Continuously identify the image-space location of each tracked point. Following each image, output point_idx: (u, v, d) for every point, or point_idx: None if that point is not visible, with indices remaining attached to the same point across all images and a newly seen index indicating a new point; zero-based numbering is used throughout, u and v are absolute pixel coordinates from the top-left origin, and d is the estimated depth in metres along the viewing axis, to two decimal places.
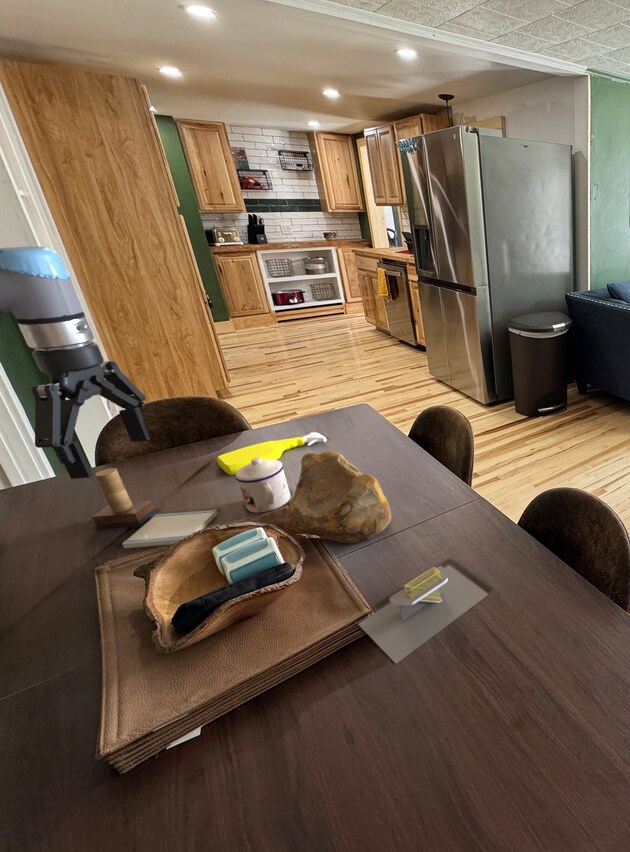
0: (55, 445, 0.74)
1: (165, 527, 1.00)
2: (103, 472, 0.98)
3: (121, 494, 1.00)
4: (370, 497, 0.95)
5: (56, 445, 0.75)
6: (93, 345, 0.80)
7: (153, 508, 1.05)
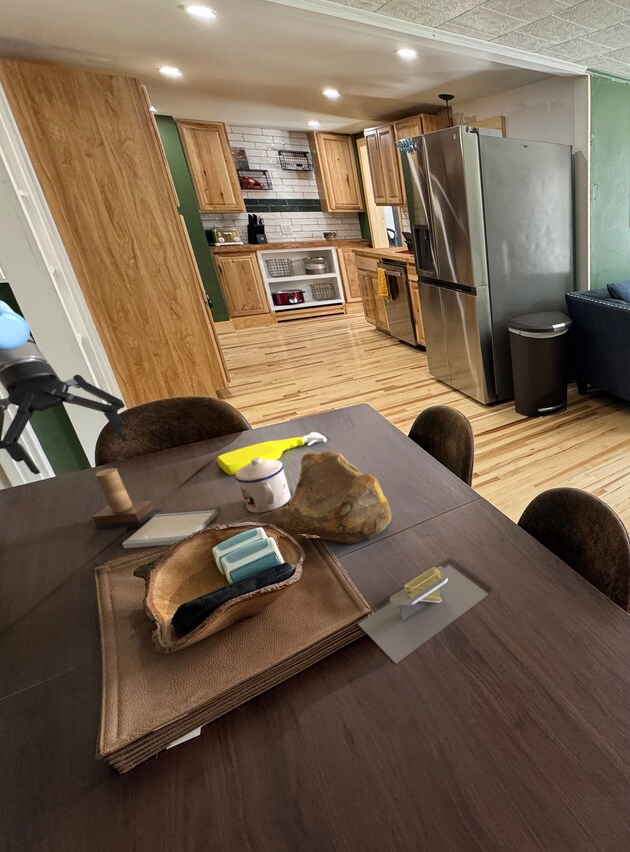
0: (123, 406, 1.05)
1: (165, 527, 1.00)
2: (103, 472, 0.98)
3: (121, 494, 1.00)
4: (370, 497, 0.95)
5: (123, 406, 1.05)
6: None
7: (153, 508, 1.05)
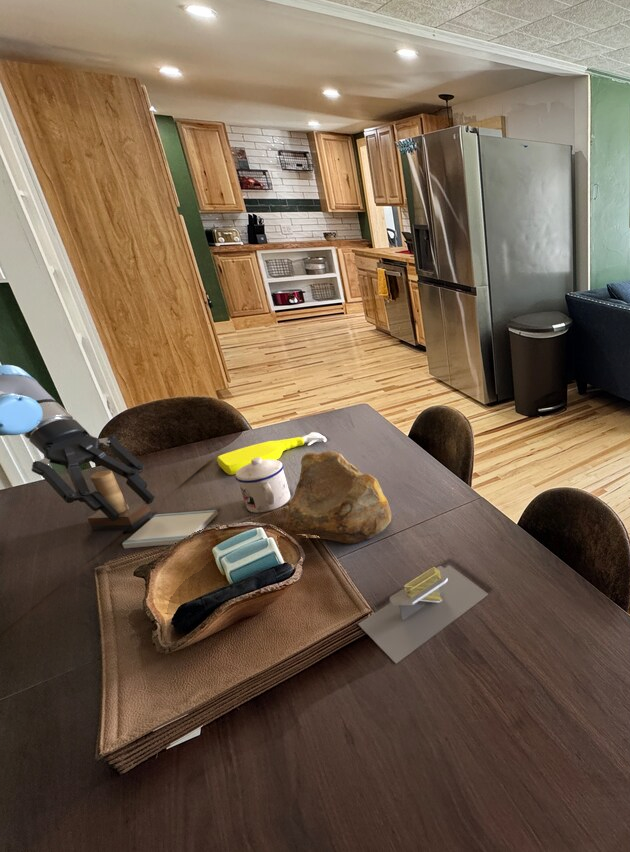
0: (140, 472, 1.06)
1: (165, 527, 1.00)
2: (99, 474, 0.97)
3: (116, 496, 0.99)
4: (370, 497, 0.95)
5: (139, 472, 1.06)
6: None
7: (148, 511, 1.04)
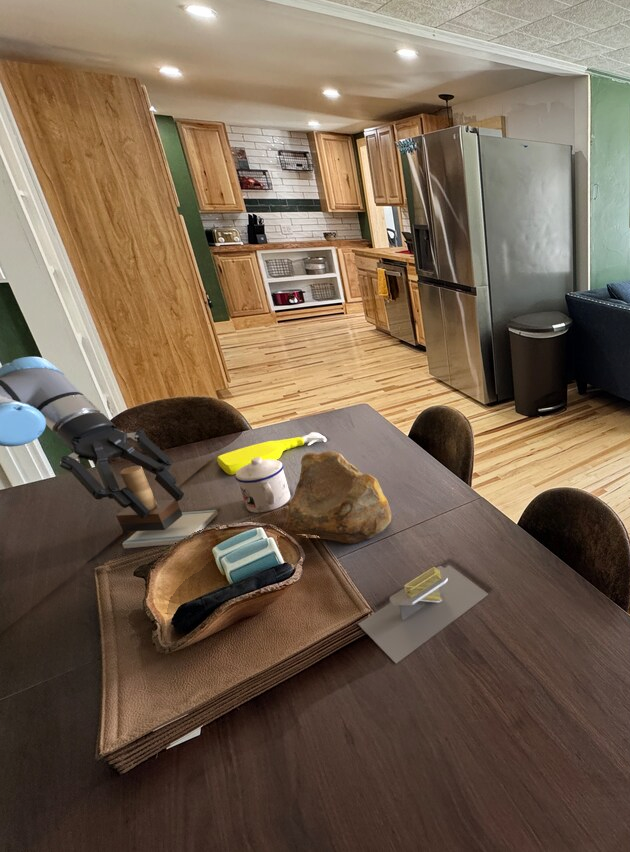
0: (168, 468, 1.02)
1: None
2: (128, 470, 0.94)
3: (145, 493, 0.95)
4: (370, 497, 0.95)
5: (167, 468, 1.02)
6: None
7: (177, 509, 1.00)
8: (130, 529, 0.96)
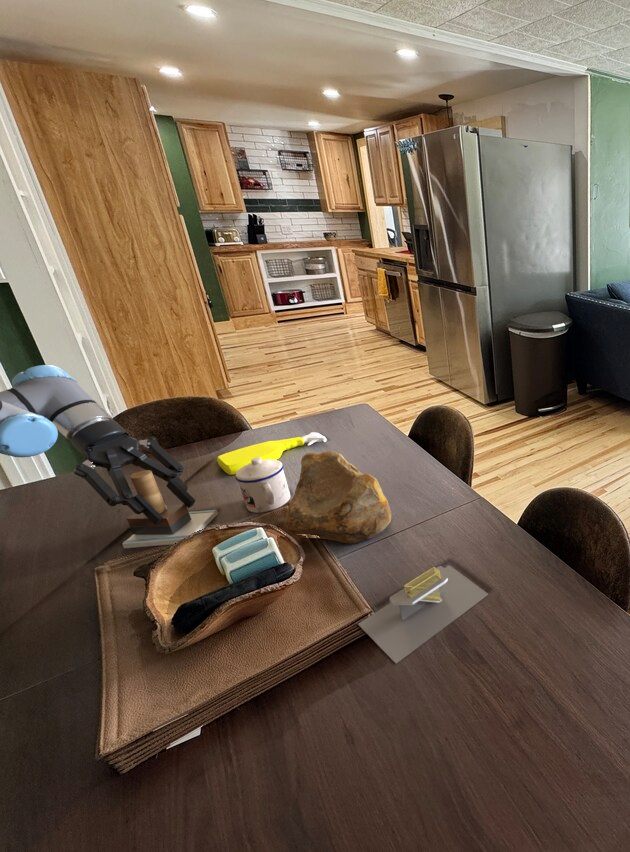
0: (179, 475, 1.03)
1: None
2: (138, 474, 0.95)
3: (155, 497, 0.96)
4: (370, 497, 0.95)
5: None
6: None
7: (186, 513, 1.01)
8: (140, 532, 0.97)
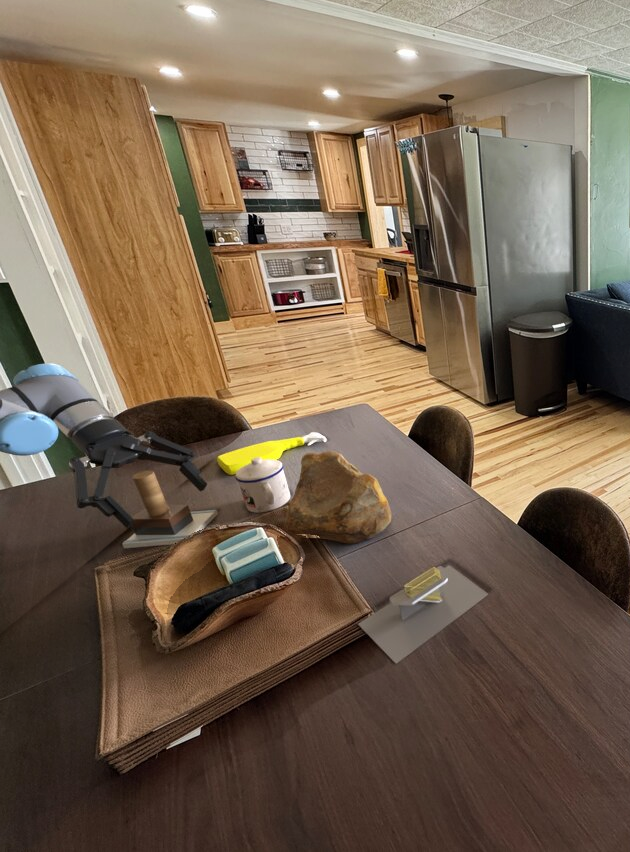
0: None
1: None
2: (141, 474, 0.95)
3: (157, 498, 0.96)
4: (370, 497, 0.95)
5: (191, 459, 1.06)
6: None
7: (188, 513, 1.01)
8: (142, 533, 0.97)
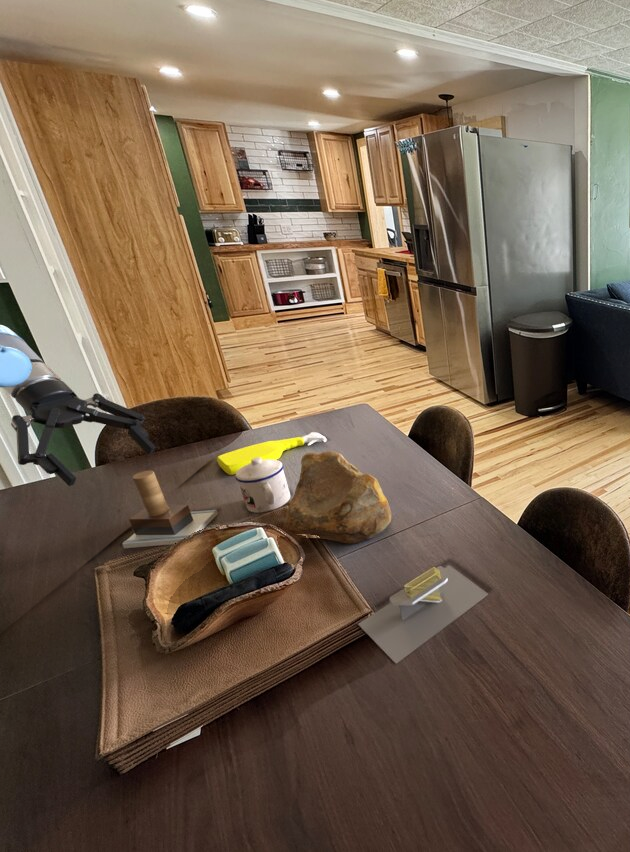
0: None
1: None
2: (141, 474, 0.95)
3: (157, 498, 0.96)
4: (370, 497, 0.95)
5: (141, 423, 1.07)
6: None
7: (188, 513, 1.01)
8: (142, 533, 0.97)
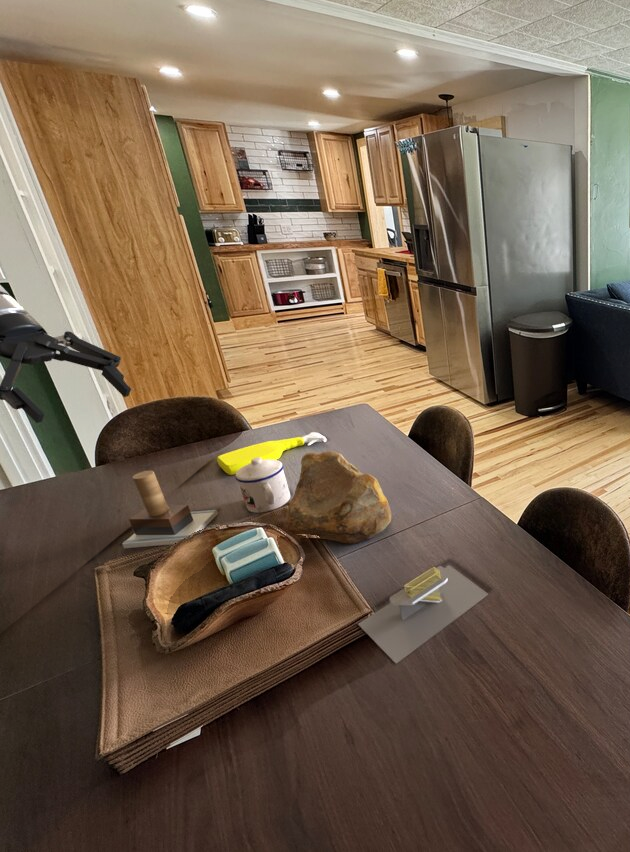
0: (117, 365, 1.02)
1: None
2: (141, 474, 0.95)
3: (157, 498, 0.96)
4: (370, 497, 0.95)
5: (117, 366, 1.02)
6: None
7: (188, 513, 1.01)
8: (142, 533, 0.97)
